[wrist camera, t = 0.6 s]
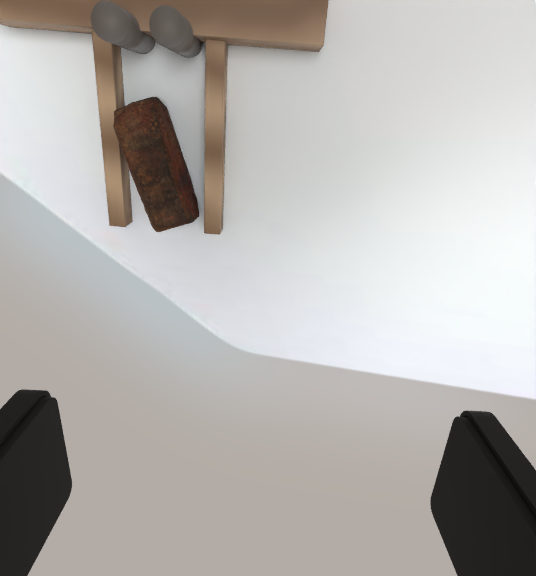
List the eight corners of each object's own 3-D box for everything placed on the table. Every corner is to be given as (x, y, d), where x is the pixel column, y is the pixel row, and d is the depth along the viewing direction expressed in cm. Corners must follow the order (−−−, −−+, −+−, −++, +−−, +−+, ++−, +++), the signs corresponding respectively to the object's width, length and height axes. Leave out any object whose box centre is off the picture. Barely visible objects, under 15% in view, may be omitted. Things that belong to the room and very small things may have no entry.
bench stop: (0, -32, 32) (-69, -66, 26) (325, -6, 32) (335, -34, 26) (40, 214, 40) (-4, 234, 34) (298, 234, 41) (302, 258, 34)
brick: (203, 211, 40) (194, 223, 36) (166, 221, 41) (152, 234, 36) (165, 97, 36) (149, 95, 32) (124, 109, 36) (103, 110, 32)
